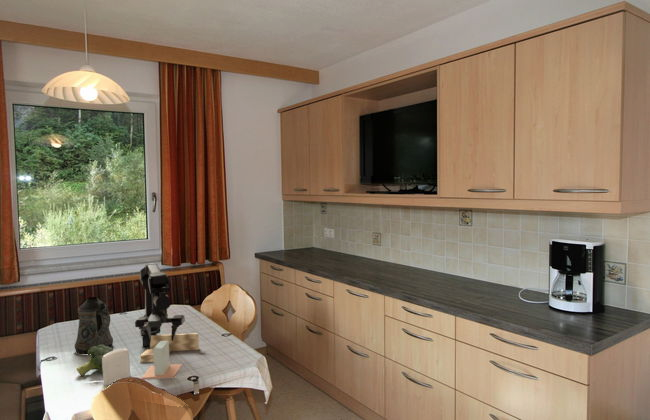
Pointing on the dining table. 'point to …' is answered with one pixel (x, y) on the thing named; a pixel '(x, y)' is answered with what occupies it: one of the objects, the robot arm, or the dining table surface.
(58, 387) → the dining table surface
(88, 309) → the beer stein
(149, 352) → the offcut top
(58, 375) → the dining table surface
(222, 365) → the dining table surface
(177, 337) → the rack
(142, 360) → the offcut middle
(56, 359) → the dining table surface
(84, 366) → the vegetable
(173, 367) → the mat
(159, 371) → the tall pale grey block
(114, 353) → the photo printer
